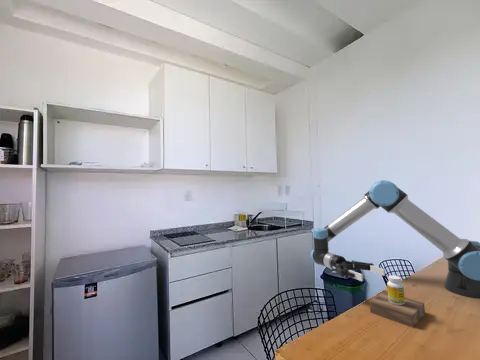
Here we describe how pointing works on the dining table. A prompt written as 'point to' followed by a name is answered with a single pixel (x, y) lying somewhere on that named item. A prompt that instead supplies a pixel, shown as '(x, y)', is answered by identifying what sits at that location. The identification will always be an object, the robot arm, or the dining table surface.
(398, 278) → the supplement bottle
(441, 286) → the dining table surface
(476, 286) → the robot arm
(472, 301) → the dining table surface
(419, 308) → the walnut riser
